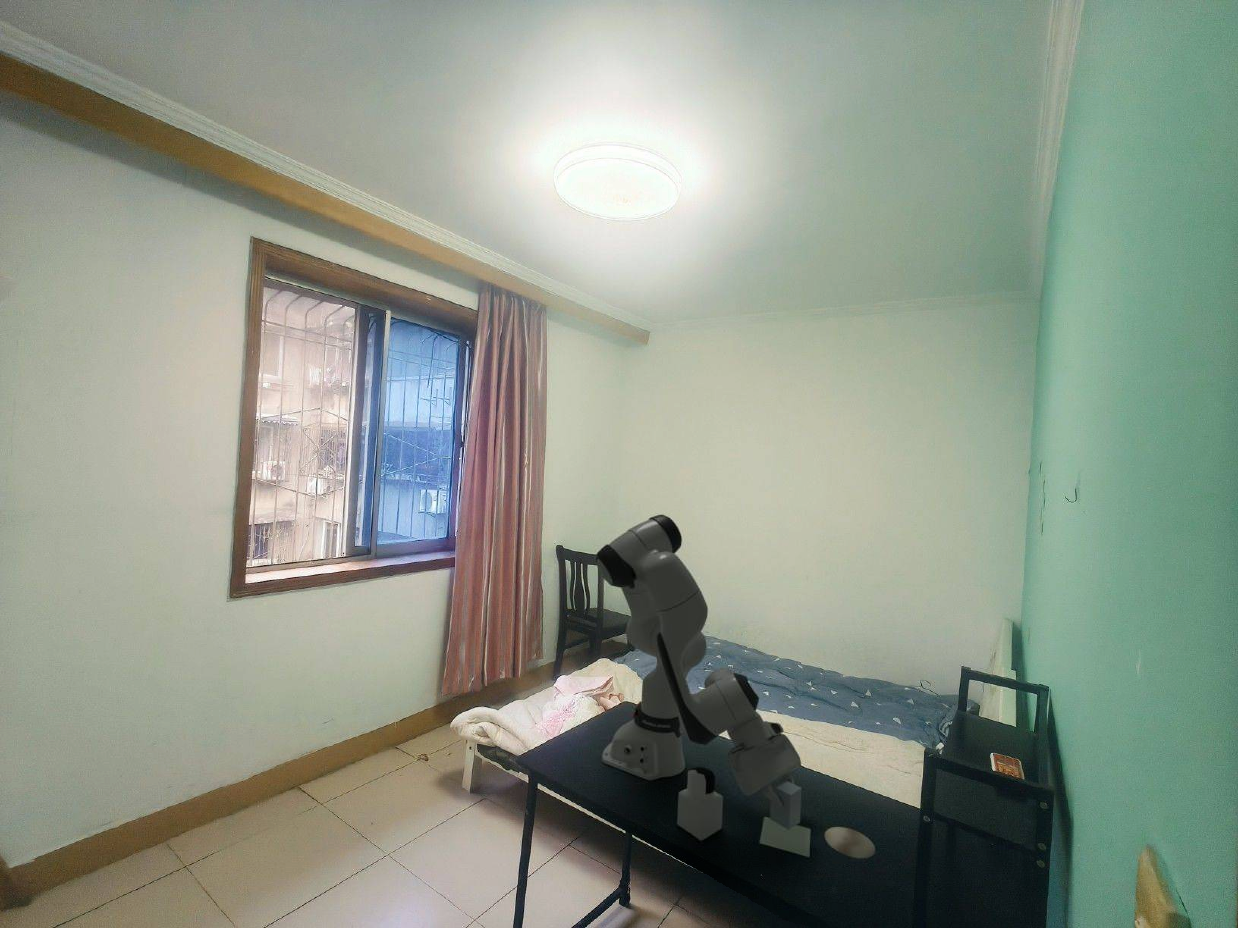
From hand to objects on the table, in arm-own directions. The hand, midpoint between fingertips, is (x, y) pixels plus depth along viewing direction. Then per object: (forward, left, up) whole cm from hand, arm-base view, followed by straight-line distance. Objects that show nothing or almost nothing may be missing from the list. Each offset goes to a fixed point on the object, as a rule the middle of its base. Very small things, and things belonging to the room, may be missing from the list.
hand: (788, 802), depth 115 cm
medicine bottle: (-18, -4, -8) cm, 20 cm away
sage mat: (0, +1, -8) cm, 8 cm away
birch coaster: (+13, +5, -8) cm, 16 cm away
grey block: (-1, 0, -4) cm, 4 cm away
